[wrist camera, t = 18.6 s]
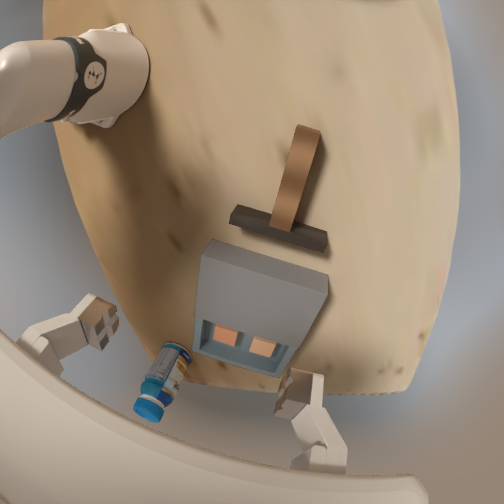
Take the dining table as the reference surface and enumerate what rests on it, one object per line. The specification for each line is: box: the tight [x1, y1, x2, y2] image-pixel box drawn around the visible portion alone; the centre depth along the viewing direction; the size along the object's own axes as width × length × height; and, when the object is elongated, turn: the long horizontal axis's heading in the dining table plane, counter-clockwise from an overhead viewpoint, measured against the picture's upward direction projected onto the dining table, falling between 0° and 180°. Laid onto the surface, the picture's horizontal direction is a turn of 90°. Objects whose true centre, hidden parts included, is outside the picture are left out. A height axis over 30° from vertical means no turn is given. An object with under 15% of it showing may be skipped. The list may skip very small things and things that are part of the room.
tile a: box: [213, 324, 239, 346], centre depth 54 cm, size 4×4×2 cm
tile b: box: [249, 336, 276, 357], centre depth 54 cm, size 4×4×2 cm
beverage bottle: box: [133, 343, 192, 422], centre depth 58 cm, size 8×8×20 cm
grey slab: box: [194, 239, 328, 349], centre depth 47 cm, size 20×14×5 cm
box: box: [192, 317, 297, 378], centre depth 55 cm, size 20×13×4 cm, turn 77°
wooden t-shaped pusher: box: [229, 124, 327, 253], centre depth 36 cm, size 16×14×4 cm
